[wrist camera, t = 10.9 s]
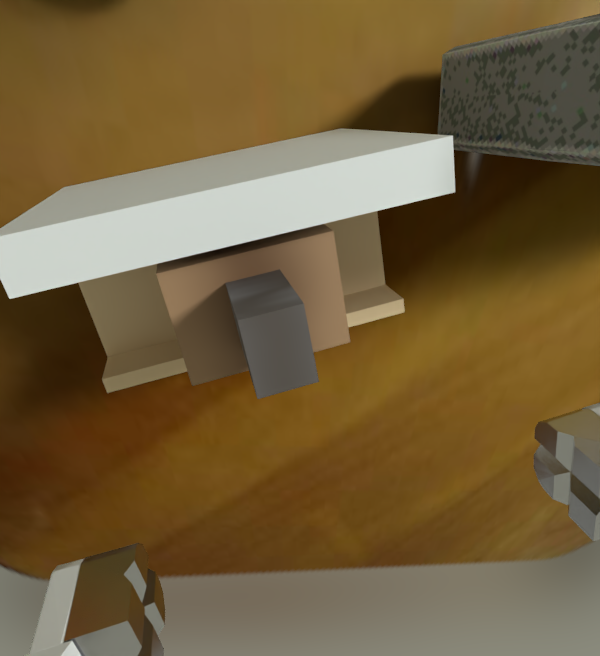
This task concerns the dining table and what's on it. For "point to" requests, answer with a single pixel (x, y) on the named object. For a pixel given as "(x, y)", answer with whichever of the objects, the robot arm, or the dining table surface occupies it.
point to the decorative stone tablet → (526, 94)
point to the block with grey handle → (258, 308)
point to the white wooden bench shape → (218, 230)
